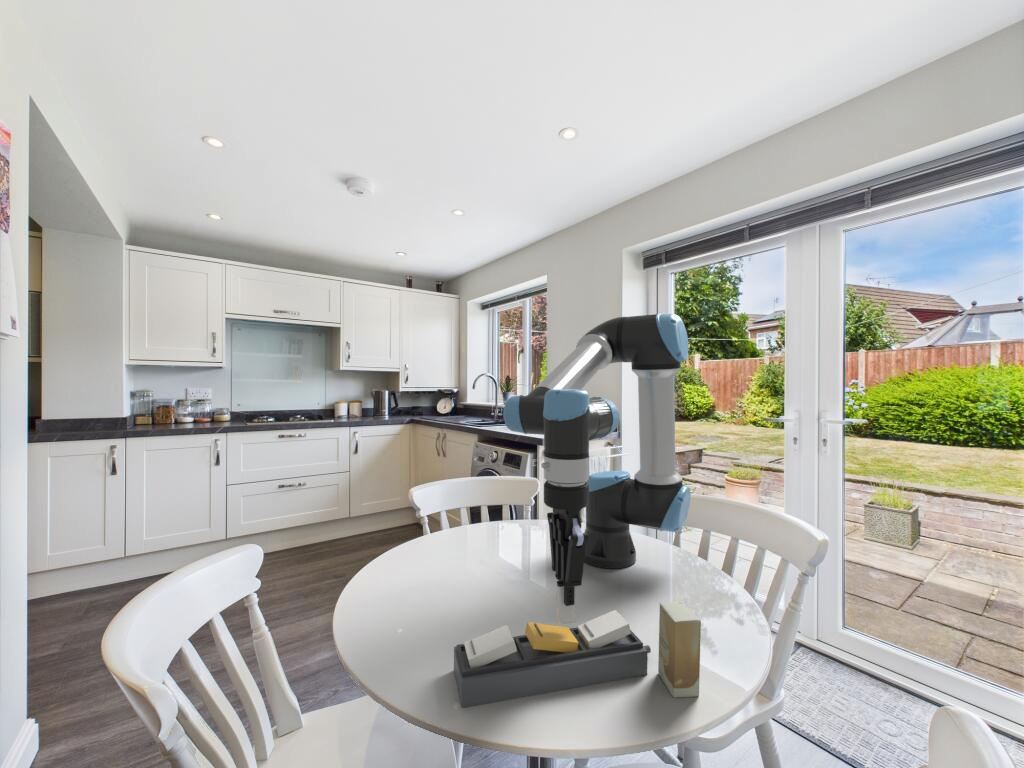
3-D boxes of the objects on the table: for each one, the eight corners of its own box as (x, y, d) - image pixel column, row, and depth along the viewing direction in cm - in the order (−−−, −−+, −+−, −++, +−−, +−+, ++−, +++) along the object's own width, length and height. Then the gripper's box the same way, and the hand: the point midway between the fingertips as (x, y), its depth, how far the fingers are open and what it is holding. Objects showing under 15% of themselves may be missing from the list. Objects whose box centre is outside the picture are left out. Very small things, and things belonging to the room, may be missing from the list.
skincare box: (657, 672, 77) (657, 600, 77) (682, 671, 77) (682, 599, 77) (674, 699, 70) (674, 621, 70) (701, 698, 71) (701, 619, 71)
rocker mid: (565, 637, 80) (568, 626, 80) (576, 653, 75) (578, 641, 75) (524, 632, 78) (527, 620, 78) (533, 648, 74) (536, 636, 74)
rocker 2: (617, 618, 82) (615, 608, 82) (631, 633, 78) (628, 622, 78) (579, 635, 81) (576, 624, 81) (591, 651, 76) (588, 640, 76)
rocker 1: (509, 634, 78) (506, 623, 77) (517, 651, 73) (514, 639, 73) (466, 652, 76) (463, 641, 76) (471, 670, 71) (467, 658, 71)
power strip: (635, 641, 86) (636, 616, 86) (663, 671, 77) (663, 643, 77) (453, 670, 77) (453, 642, 77) (461, 707, 69) (461, 676, 69)
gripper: (533, 474, 82) (533, 604, 83) (558, 492, 70) (558, 645, 70) (572, 471, 84) (572, 599, 85) (604, 489, 72) (603, 638, 72)
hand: (566, 620), depth 78 cm, fingers closed
